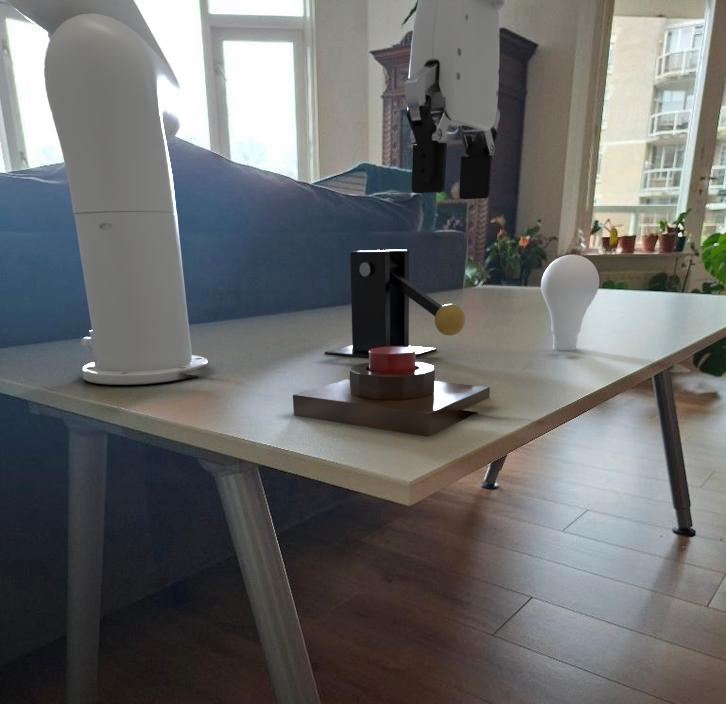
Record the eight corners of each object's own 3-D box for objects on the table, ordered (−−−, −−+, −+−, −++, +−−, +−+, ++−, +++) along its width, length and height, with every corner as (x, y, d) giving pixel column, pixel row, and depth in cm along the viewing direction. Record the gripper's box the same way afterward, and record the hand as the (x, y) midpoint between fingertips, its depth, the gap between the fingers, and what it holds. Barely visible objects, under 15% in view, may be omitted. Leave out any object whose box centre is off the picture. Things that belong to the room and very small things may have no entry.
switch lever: (461, 339, 71) (476, 313, 69) (447, 343, 69) (462, 316, 67) (372, 273, 75) (384, 247, 73) (356, 275, 72) (368, 248, 70)
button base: (293, 416, 52) (291, 371, 51) (365, 392, 60) (364, 353, 59) (428, 437, 46) (429, 387, 44) (489, 408, 53) (491, 364, 52)
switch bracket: (436, 358, 76) (438, 249, 72) (400, 370, 70) (400, 251, 66) (364, 352, 81) (362, 250, 77) (324, 362, 75) (320, 251, 71)
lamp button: (360, 374, 51) (359, 351, 51) (385, 367, 54) (385, 345, 53) (400, 378, 49) (400, 355, 49) (424, 371, 52) (424, 348, 51)
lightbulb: (549, 350, 80) (557, 254, 76) (600, 355, 76) (610, 253, 72) (526, 357, 75) (533, 255, 72) (578, 363, 72) (588, 255, 68)
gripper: (467, 19, 68) (457, 201, 74) (373, -37, 54) (371, 191, 60) (538, 6, 64) (522, 199, 70) (456, -59, 50) (445, 188, 56)
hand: (452, 195), depth 65 cm, fingers open, 9 cm apart
